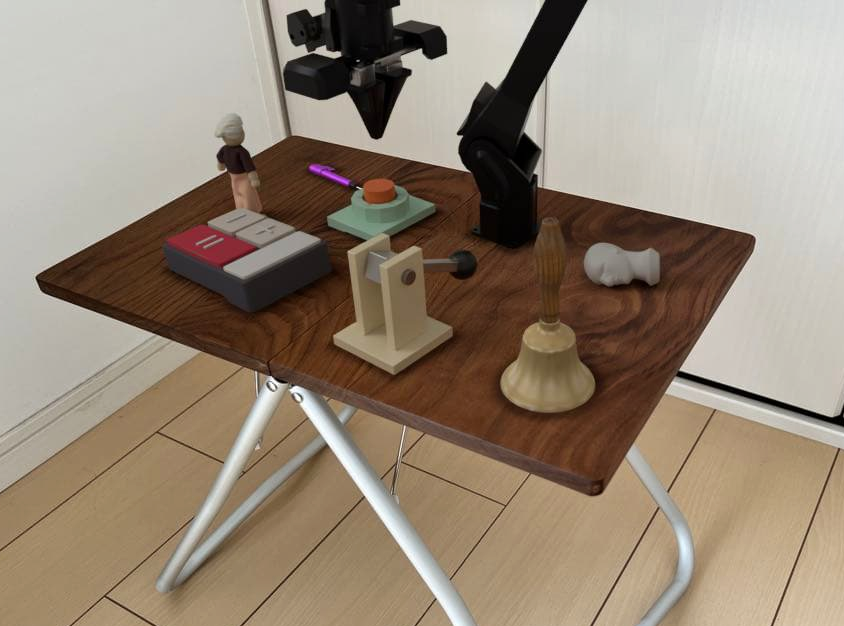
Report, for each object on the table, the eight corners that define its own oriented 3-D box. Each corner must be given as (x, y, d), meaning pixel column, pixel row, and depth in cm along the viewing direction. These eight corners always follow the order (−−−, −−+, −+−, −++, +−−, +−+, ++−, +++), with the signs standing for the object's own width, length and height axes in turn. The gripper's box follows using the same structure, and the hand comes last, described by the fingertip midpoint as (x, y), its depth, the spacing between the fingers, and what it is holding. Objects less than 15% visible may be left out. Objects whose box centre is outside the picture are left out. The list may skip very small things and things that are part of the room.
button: (380, 189, 103) (378, 175, 102) (402, 197, 101) (400, 183, 100) (358, 200, 101) (356, 186, 100) (380, 208, 99) (378, 194, 98)
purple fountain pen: (307, 172, 115) (389, 208, 106) (307, 163, 114) (390, 198, 105) (323, 170, 117) (405, 205, 108) (323, 161, 116) (406, 196, 107)
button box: (387, 196, 108) (385, 173, 106) (435, 213, 104) (434, 189, 102) (328, 225, 102) (324, 202, 100) (376, 245, 98) (373, 221, 96)
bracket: (393, 309, 87) (384, 220, 81) (453, 337, 83) (448, 245, 77) (334, 345, 83) (320, 253, 77) (394, 377, 78) (384, 282, 72)
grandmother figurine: (284, 219, 104) (265, 114, 96) (262, 232, 101) (241, 125, 94) (237, 206, 107) (215, 103, 99) (214, 218, 105) (190, 114, 97)
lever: (456, 274, 89) (463, 245, 88) (479, 283, 87) (486, 254, 86) (360, 279, 78) (366, 246, 77) (384, 289, 77) (390, 256, 75)
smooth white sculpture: (576, 292, 91) (594, 258, 93) (651, 308, 88) (667, 272, 90) (573, 263, 87) (591, 228, 90) (650, 278, 84) (667, 242, 86)
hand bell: (569, 426, 72) (578, 255, 62) (483, 396, 76) (478, 229, 66) (610, 374, 78) (625, 209, 68) (528, 348, 81) (531, 187, 71)
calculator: (241, 202, 99) (327, 234, 91) (249, 237, 102) (333, 271, 93) (158, 238, 93) (241, 276, 85) (169, 274, 96) (251, 314, 87)
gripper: (372, -43, 96) (385, 99, 106) (235, -6, 85) (263, 148, 95) (447, -31, 90) (453, 119, 100) (310, 11, 79) (332, 173, 89)
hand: (376, 138), depth 96 cm, fingers closed
